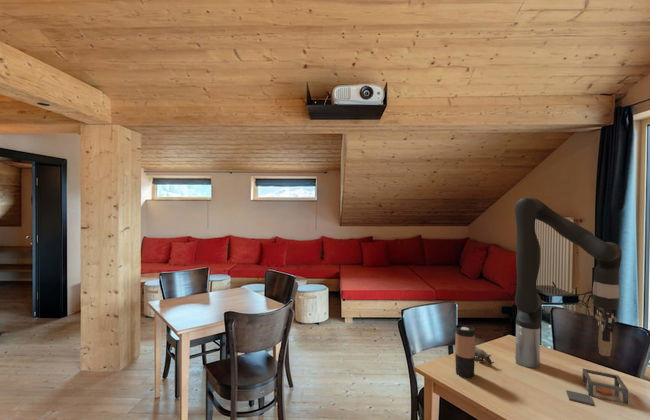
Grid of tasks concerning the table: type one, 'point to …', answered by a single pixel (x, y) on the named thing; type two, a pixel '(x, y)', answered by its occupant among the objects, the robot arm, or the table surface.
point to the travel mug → (465, 351)
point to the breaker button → (604, 390)
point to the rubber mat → (579, 397)
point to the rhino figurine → (482, 355)
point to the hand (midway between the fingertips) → (604, 338)
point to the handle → (604, 345)
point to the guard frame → (616, 395)
